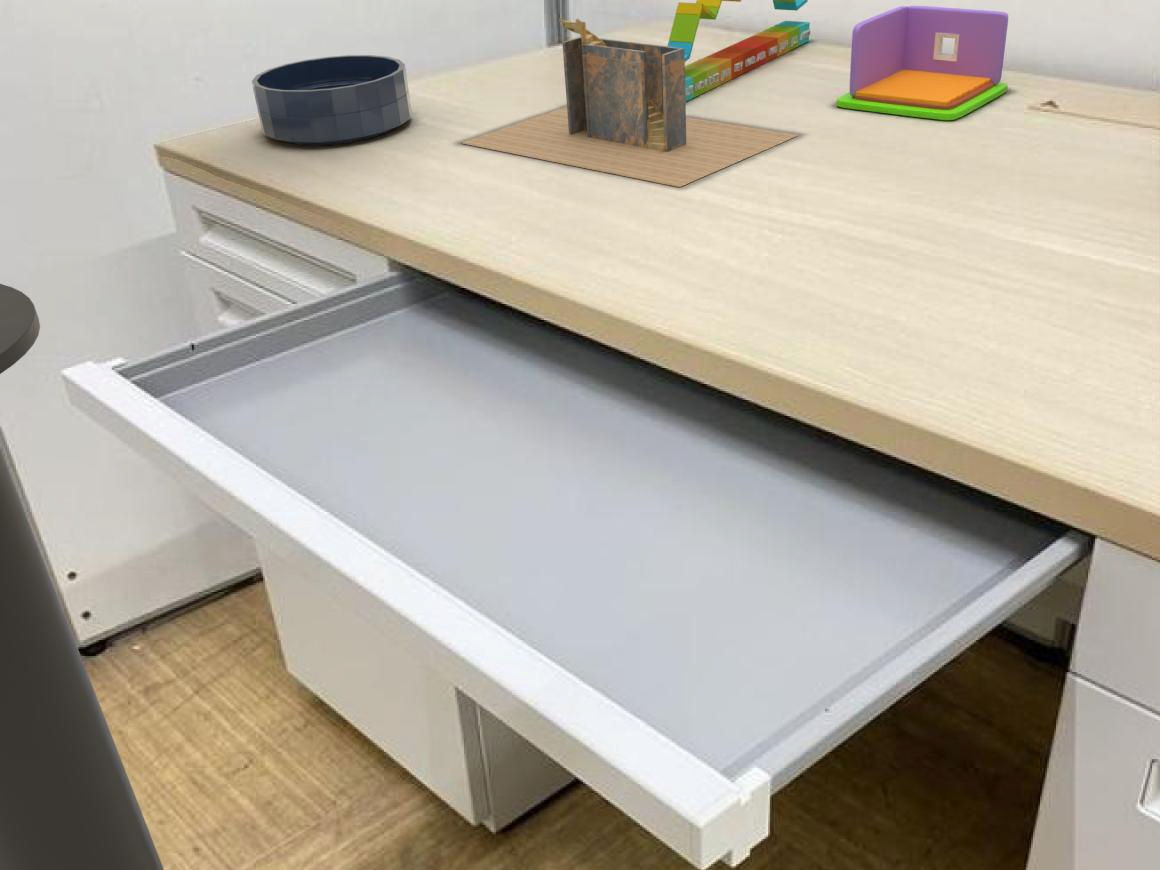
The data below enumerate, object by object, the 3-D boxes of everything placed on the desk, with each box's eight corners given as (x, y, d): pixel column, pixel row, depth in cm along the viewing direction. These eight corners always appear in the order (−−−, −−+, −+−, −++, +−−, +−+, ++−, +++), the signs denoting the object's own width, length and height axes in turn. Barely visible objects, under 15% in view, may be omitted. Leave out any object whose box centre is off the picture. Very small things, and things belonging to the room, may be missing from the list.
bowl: (275, 158, 110) (263, 99, 107) (255, 122, 121) (243, 68, 118) (427, 133, 114) (419, 76, 111) (394, 101, 125) (386, 48, 122)
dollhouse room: (893, 77, 120) (899, 0, 116) (1012, 90, 114) (1022, 9, 110) (831, 107, 113) (834, 26, 109) (953, 122, 106) (962, 36, 102)
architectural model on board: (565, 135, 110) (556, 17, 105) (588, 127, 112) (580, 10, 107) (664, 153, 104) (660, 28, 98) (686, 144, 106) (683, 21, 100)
